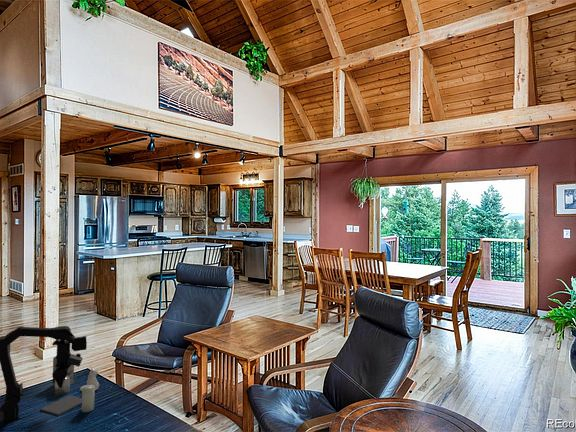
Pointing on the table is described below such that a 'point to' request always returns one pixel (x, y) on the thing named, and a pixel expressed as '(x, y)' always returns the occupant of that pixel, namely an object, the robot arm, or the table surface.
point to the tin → (63, 387)
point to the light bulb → (88, 398)
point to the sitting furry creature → (92, 379)
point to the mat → (62, 405)
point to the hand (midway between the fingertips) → (62, 383)
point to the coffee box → (70, 371)
